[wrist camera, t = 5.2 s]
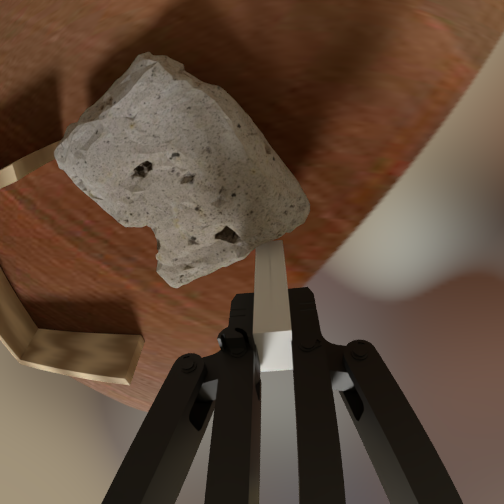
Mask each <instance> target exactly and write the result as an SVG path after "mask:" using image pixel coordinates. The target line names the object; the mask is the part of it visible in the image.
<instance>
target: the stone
mask: <svg viewBox="0 0 504 504" xmlns="http://www.w3.org/2000/svg"><path fill="white" fill-rule="evenodd" d="M54 157H55V158H56V160H57V163H58V166H59V168H60V169H62V170H64V171H65V172H66V173H67V175H68V176H69V177H70V178H71V179H72V181H73V182H74V183H75V184H76V185H77V186H78V187H79V188H80V189H81V190H82V191H83V192H84V193H85V194H87V195H88V196H89V197H90V198H92V199H93V200H94V201H95V202H97V203H98V204H99V205H100V206H101V207H102V208H103V210H105V211H106V212H107V213H109V214H110V215H111V216H113V217H114V218H115V219H116V220H117V221H118V222H119V223H120V224H122V225H123V226H124V227H143V226H146V225H147V226H149V227H151V228H152V230H153V232H154V233H155V237H156V239H157V249H158V251H159V252H158V254H157V255H156V259H157V260H158V263H157V271H156V272H157V273H158V274H159V275H160V276H161V277H162V278H163V279H164V280H165V281H166V282H167V283H168V284H169V285H170V286H171V287H174V288H178V287H180V286H182V285H184V284H188V283H189V282H191V281H192V280H194V279H197V278H199V277H201V276H205V275H208V274H210V273H212V272H214V271H215V270H217V269H219V268H221V267H227V266H229V265H230V264H232V263H234V262H237V261H239V260H242V259H245V258H246V256H247V255H248V254H249V253H250V252H251V251H252V250H254V249H255V248H256V247H258V246H260V245H262V244H264V243H266V242H269V241H272V240H274V239H277V238H279V237H281V236H282V235H283V234H285V233H286V232H289V233H290V232H292V231H293V230H294V229H295V228H296V227H297V226H299V225H301V224H303V223H304V222H305V220H306V218H307V216H308V214H309V212H310V204H309V201H308V199H307V197H306V195H305V193H304V192H303V190H302V188H301V187H300V185H299V183H298V181H297V180H296V178H295V177H294V175H293V174H292V173H291V171H290V170H289V169H288V168H287V167H286V165H285V164H284V163H283V161H282V160H281V159H280V157H279V156H278V155H277V153H276V152H275V151H274V150H273V149H272V147H271V146H270V144H269V143H268V142H267V140H266V139H265V137H264V135H263V134H262V132H261V131H260V130H259V129H258V127H257V126H256V125H255V124H254V122H253V121H252V119H251V118H250V116H249V115H248V114H246V113H245V112H244V110H243V109H242V108H241V107H240V105H239V104H238V103H237V102H236V101H235V100H234V99H233V98H232V97H231V96H230V95H229V94H228V93H227V92H226V91H225V90H224V89H222V88H221V87H220V86H216V85H211V84H207V83H204V82H202V81H200V80H199V79H197V78H196V77H194V76H193V75H191V74H189V73H188V72H186V71H185V70H184V64H182V63H180V62H177V61H175V60H173V59H171V58H169V57H168V56H164V55H160V56H155V55H152V54H151V53H150V52H146V53H143V54H140V55H138V56H137V57H136V58H135V60H134V61H133V63H132V64H131V66H130V67H129V68H128V70H127V71H126V72H125V73H124V74H123V75H122V76H121V77H120V78H119V79H117V80H116V81H115V82H114V83H113V85H112V86H111V87H110V88H109V89H108V91H107V92H106V93H105V94H104V95H103V96H102V97H101V98H100V99H99V100H98V101H97V102H96V103H95V104H94V105H92V106H91V107H89V108H87V109H86V110H85V112H84V113H83V114H82V116H81V117H80V119H79V121H78V122H76V123H72V124H70V125H69V126H68V127H67V129H66V132H65V135H64V137H63V138H62V140H61V141H60V142H59V144H58V146H57V147H56V149H55V151H54Z"/></svg>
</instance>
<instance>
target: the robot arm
mask: <svg viewBox="0 0 504 504" xmlns="http://www.w3.org/2000/svg"><path fill="white" fill-rule="evenodd" d="M230 310H231V311H230V318H229V326H228V327H227V328H225V329H223V330H222V331H221V332H220V333H219V335H218V338H217V340H218V343H219V345H220V348H221V350H220V351H219V352H217V353H215V354H213V355H210V356H207V357H203V358H201V357H200V355H197V354H195V353H188V354H185V355H182V356H181V357H179V358H178V359H177V360H176V361H175V363H174V364H173V366H172V368H171V370H170V372H169V374H168V376H167V378H166V379H165V381H164V383H163V385H162V387H161V389H160V391H159V393H158V395H157V396H156V398H155V400H154V402H153V404H152V406H151V408H150V410H149V412H148V414H147V416H146V417H145V419H144V421H143V423H142V425H141V427H140V429H139V431H138V433H137V435H136V437H135V439H134V441H133V443H132V444H131V446H130V448H129V450H128V452H127V454H126V456H125V458H124V460H123V462H122V464H121V466H120V468H119V470H118V472H117V474H116V476H115V478H114V480H113V482H112V484H111V486H110V488H109V490H108V492H107V494H106V496H105V498H104V500H103V502H102V504H175V502H176V500H177V497H178V495H179V493H180V490H181V488H182V485H183V483H184V481H185V479H186V476H187V474H188V471H189V469H190V467H191V464H192V462H193V459H194V457H195V455H196V452H197V450H198V448H199V445H200V443H201V440H202V438H203V435H204V433H205V431H206V428H207V426H208V423H209V421H210V418H211V416H212V413H213V411H214V419H213V427H212V436H211V445H210V454H209V463H208V473H207V483H206V492H205V503H204V504H259V485H260V482H259V481H260V439H261V438H260V436H261V379H260V370H261V372H266V371H281V370H293V377H294V393H295V408H296V409H295V410H296V429H297V450H298V476H299V504H346V502H345V489H344V479H343V469H342V459H341V450H340V442H339V433H338V426H337V419H336V412H335V404H334V397H333V391H332V390H338V391H339V393H340V395H341V397H342V399H343V401H344V403H345V406H346V408H347V410H348V412H349V414H350V416H351V418H352V420H353V422H354V425H355V427H356V429H357V431H358V433H359V435H360V438H361V440H362V442H363V444H364V446H365V449H366V451H367V453H368V455H369V457H370V459H371V461H372V464H373V466H374V468H375V470H376V473H377V475H378V477H379V479H380V481H381V484H382V486H383V488H384V490H385V492H386V495H387V497H388V499H389V501H390V504H463V503H462V500H461V498H460V496H459V494H458V492H457V490H456V488H455V486H454V484H453V482H452V480H451V478H450V476H449V474H448V472H447V470H446V468H445V466H444V465H443V463H442V461H441V459H440V457H439V455H438V454H437V451H436V450H435V448H434V446H433V444H432V442H431V441H430V439H429V437H428V435H427V434H426V432H425V430H424V428H423V426H422V425H421V423H420V421H419V419H418V418H417V416H416V414H415V413H414V411H413V409H412V407H411V406H410V404H409V402H408V401H407V399H406V397H405V395H404V394H403V392H402V391H401V389H400V387H399V386H398V384H397V382H396V381H395V379H394V377H393V376H392V374H391V372H390V371H389V369H388V368H387V366H386V364H385V363H384V361H383V360H382V358H381V356H380V355H379V353H378V352H377V350H376V349H375V347H374V346H373V345H372V344H371V343H370V342H368V341H365V340H354V341H352V342H350V343H348V344H347V346H342V345H335V344H332V343H330V342H328V341H326V340H325V339H324V338H323V336H322V334H321V331H320V325H319V320H318V314H317V310H316V304H315V299H314V294H313V293H312V291H311V290H310V289H309V288H308V287H303V288H293V289H288V287H287V277H286V268H285V258H284V249H283V241H282V240H279V241H269V242H266V243H264V244H262V245H260V246H258V247H256V260H255V287H254V293H244V294H236V296H235V297H234V299H233V300H232V301H231V309H230ZM214 408H215V410H214Z"/></svg>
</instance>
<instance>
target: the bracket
mask: <svg viewBox="0 0 504 504" xmlns="http://www.w3.org/2000/svg"><path fill="white" fill-rule="evenodd" d="M60 141H61V140H60ZM60 141H58V142H55V143H53V144H51V145H48V146H46V147H44V148H42V149H40V150H37V151H35V152H33V153H31V154H29V155H27V156H25V157H23V158H21V159H19V160H17V161H15V162H13V163H11V164H10V165H8V166H6V167H4V168H2V169H0V189H1V188H3V187H5V186H7V185H9V184H11V183H13V182H16V181H18V180H19V179H21V178H22V177H24V176H26V175H27V174H29V173H31V172H32V171H34V170H36V169H37V168H39V167H41V166H43V165H44V164H46V163H48V162H50V161H52V160H54V159H55V157H54V151H55V149H56V147H57V146H58V144H59V142H60ZM0 340H1V341H2V343H3V344H4V345H5V346H6V348H7V349H8V350H9V351H10V352H11V354H12V355H13V356H14V357H15V358H16V360H17V361H18V362H19V363H20V364H22V365H26V366H30V367H33V368H37V369H41V370H45V371H49V372H54V373H58V374H64V375H68V376H73V377H78V378H84V379H90V380H96V381H102V382H109V383H117V384H125V385H130V384H131V381H132V378H133V375H134V372H135V369H136V366H137V363H138V360H139V357H140V354H141V351H142V348H143V345H144V343H145V341H144V340H143V338H142V336H141V335H126V334H101V333H84V332H70V331H58V330H48V329H38V327H37V326H36V324H35V323H34V322H33V320H32V319H31V317H30V316H29V314H28V313H27V311H26V310H25V308H24V307H23V305H22V303H21V302H20V300H19V299H18V297H17V295H16V294H15V292H14V290H13V289H12V287H11V285H10V284H9V282H8V280H7V278H6V276H5V275H4V273H3V271H2V269H1V267H0Z"/></svg>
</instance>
